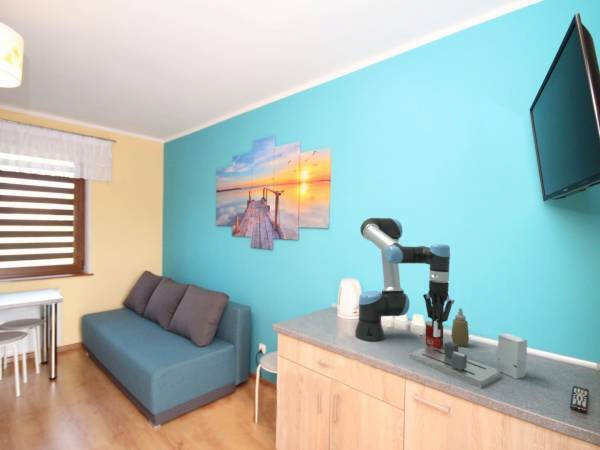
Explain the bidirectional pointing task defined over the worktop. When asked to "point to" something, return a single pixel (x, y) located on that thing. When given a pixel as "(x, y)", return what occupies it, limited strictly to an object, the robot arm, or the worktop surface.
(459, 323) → the squeeze bottle
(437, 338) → the canned food
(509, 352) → the skincare box
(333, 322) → the worktop surface
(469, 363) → the console
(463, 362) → the fader
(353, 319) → the worktop surface
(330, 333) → the worktop surface
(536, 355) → the worktop surface
